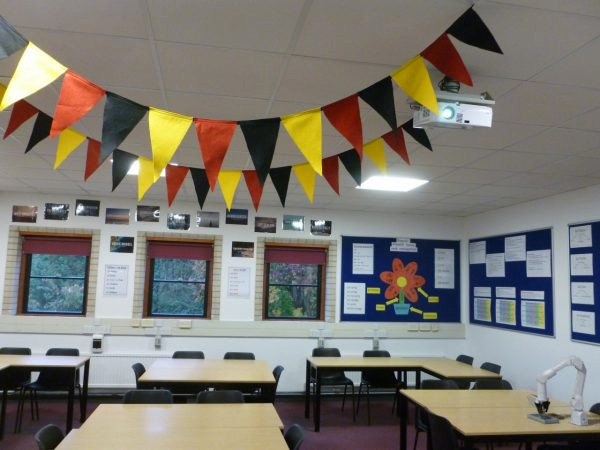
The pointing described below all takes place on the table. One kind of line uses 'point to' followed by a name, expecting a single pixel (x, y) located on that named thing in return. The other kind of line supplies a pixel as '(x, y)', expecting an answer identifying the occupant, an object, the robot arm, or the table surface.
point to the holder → (555, 416)
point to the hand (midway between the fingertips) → (542, 412)
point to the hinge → (532, 399)
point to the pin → (543, 414)
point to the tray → (548, 419)
